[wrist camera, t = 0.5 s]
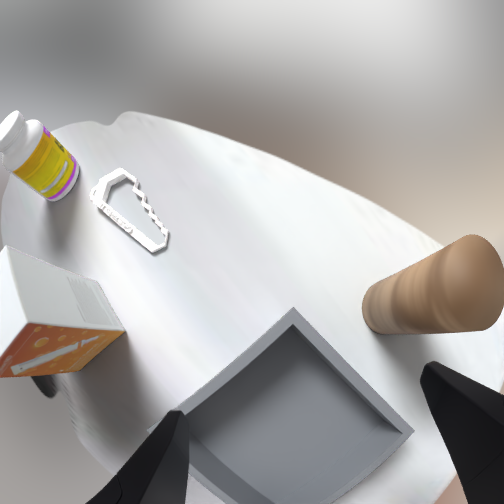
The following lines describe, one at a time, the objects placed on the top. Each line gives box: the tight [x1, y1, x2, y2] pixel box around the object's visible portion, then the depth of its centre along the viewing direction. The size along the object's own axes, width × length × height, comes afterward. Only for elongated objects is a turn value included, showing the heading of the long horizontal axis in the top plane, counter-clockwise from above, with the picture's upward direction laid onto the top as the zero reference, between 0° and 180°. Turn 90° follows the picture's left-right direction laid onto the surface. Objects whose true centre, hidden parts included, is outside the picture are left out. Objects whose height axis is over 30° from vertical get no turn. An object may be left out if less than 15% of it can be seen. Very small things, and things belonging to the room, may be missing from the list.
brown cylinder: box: [362, 235, 504, 334], centre depth 16 cm, size 5×5×13 cm
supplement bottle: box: [0, 111, 79, 201], centre depth 23 cm, size 7×7×13 cm
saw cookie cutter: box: [90, 168, 169, 253], centre depth 27 cm, size 13×5×2 cm, turn 55°
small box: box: [0, 245, 125, 378], centre depth 17 cm, size 8×6×13 cm
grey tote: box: [147, 307, 414, 504], centre depth 18 cm, size 15×15×5 cm
